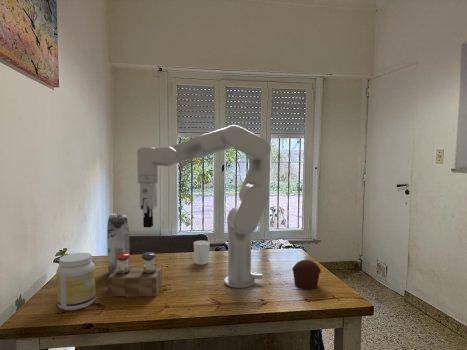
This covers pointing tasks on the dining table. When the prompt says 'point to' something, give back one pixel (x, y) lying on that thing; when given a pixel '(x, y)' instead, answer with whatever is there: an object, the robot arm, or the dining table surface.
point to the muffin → (306, 274)
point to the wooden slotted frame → (134, 283)
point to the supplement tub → (75, 281)
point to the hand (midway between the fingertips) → (148, 226)
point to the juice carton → (117, 239)
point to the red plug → (122, 263)
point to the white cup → (201, 252)
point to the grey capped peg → (148, 262)
